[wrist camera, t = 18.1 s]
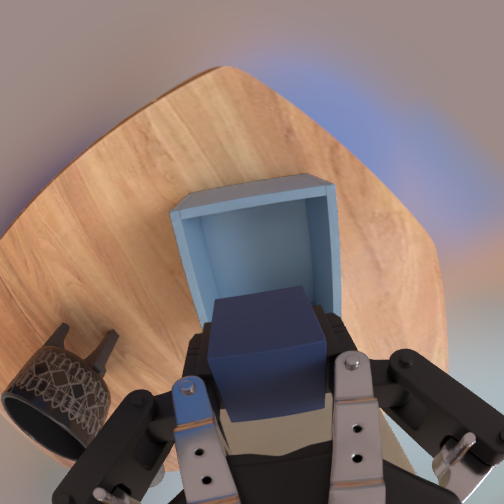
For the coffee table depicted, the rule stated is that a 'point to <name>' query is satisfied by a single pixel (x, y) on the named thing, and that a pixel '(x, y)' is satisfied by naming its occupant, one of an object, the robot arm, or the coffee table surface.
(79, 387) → the planter
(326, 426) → the lid
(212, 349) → the block
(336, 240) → the light blue open box
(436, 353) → the coffee table surface
